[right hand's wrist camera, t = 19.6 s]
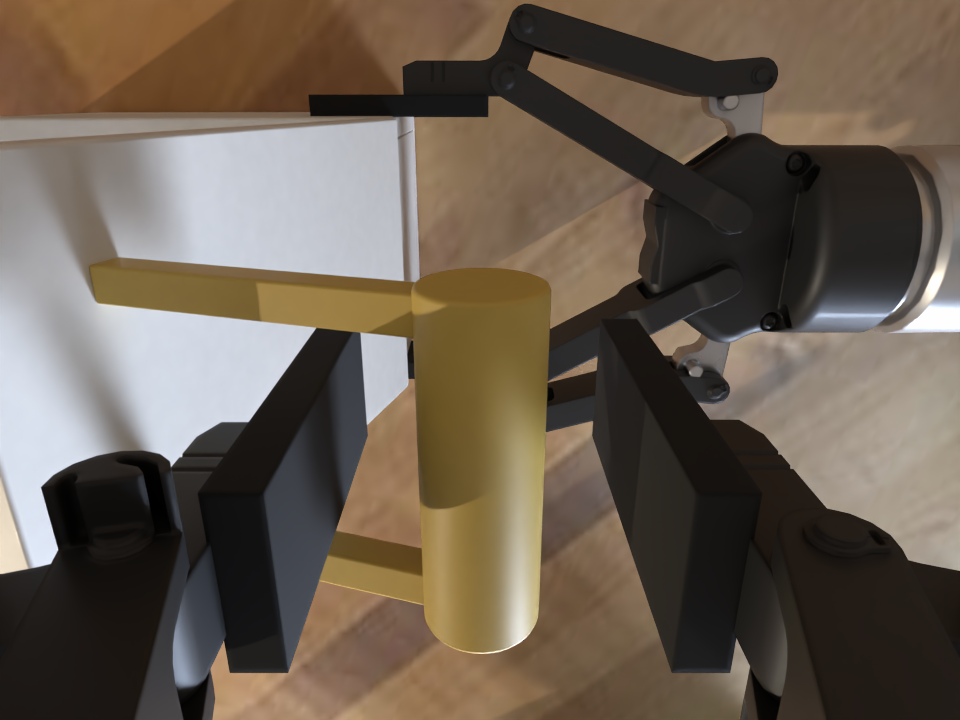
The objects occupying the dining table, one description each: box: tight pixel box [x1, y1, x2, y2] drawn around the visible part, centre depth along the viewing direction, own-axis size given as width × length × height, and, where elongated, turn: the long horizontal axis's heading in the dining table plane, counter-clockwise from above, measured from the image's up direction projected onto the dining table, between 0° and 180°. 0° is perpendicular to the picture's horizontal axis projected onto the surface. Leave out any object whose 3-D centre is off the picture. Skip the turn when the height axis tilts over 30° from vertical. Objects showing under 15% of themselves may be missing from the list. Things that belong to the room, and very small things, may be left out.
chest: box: [0, 112, 420, 354], centre depth 29 cm, size 15×10×10 cm, turn 90°
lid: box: [0, 118, 551, 654], centre depth 16 cm, size 15×10×9 cm
